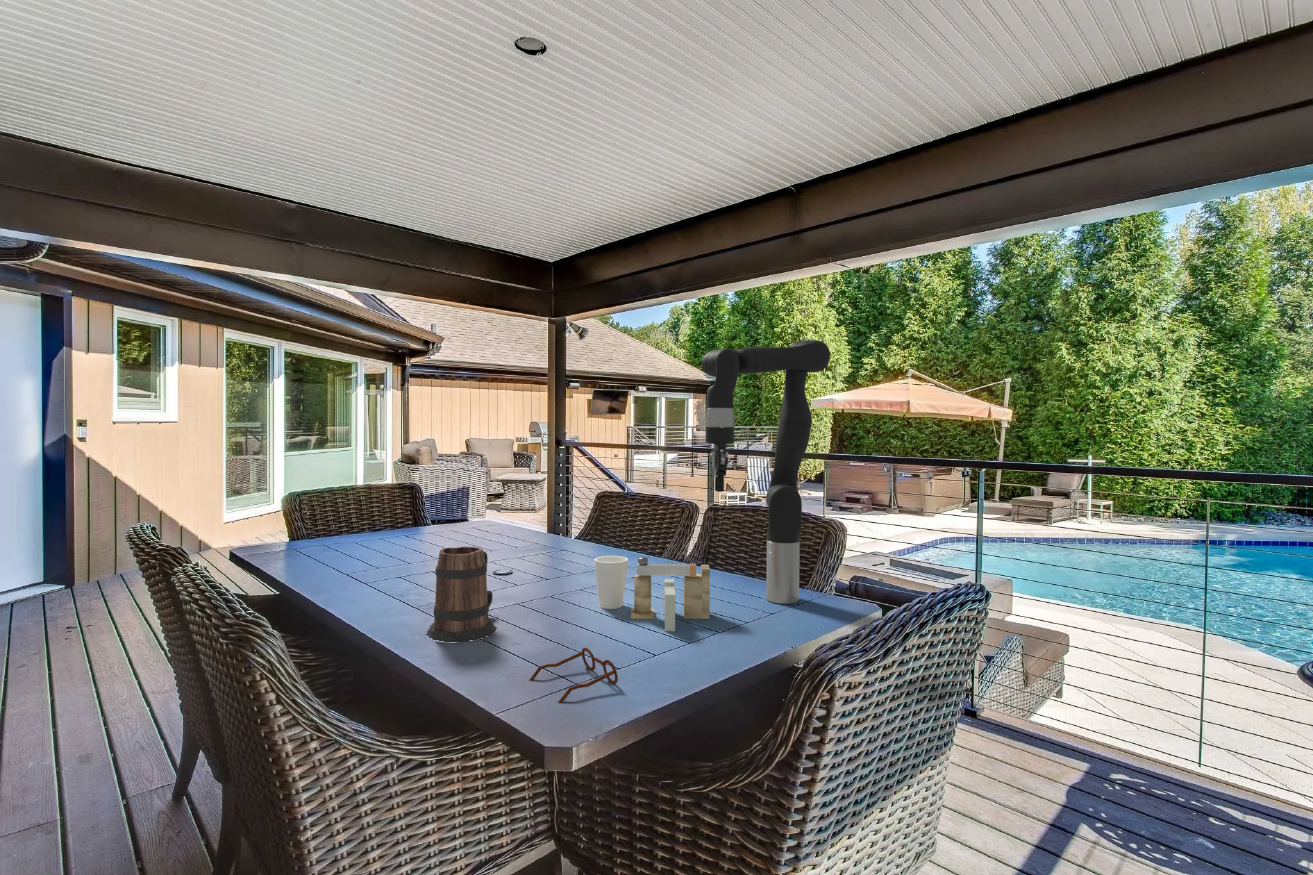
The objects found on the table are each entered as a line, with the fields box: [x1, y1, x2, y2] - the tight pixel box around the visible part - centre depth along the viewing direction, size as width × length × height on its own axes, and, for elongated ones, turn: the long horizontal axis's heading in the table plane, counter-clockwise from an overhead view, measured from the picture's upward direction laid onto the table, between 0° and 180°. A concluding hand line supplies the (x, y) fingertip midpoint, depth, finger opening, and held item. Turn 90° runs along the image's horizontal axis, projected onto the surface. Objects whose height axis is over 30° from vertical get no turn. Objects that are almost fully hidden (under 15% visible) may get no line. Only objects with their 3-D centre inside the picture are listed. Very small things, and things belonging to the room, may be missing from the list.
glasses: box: [528, 647, 619, 704], centre depth 128 cm, size 13×13×5 cm
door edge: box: [663, 578, 676, 632], centre depth 167 cm, size 16×2×9 cm, turn 0°
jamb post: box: [630, 574, 655, 620], centre depth 172 cm, size 6×6×10 cm
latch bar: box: [636, 556, 697, 577], centre depth 172 cm, size 16×3×5 cm, turn 87°
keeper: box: [683, 564, 711, 620], centre depth 172 cm, size 5×6×13 cm
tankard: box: [426, 546, 498, 643], centre depth 161 cm, size 24×17×20 cm
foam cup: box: [593, 555, 629, 610], centre depth 181 cm, size 10×9×13 cm
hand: (719, 491), depth 172 cm, fingers closed
